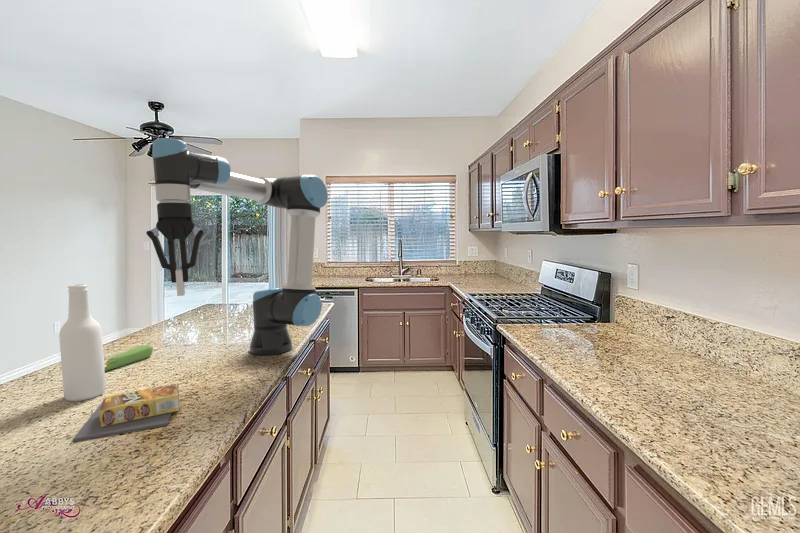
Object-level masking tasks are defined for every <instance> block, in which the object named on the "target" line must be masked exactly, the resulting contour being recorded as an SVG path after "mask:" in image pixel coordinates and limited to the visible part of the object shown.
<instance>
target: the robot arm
mask: <svg viewBox="0 0 800 533" xmlns="http://www.w3.org/2000/svg"><path fill="white" fill-rule="evenodd" d="M151 158H152V162H153V171H154V183H155V184H154V187H155V199H156V201H157V202H159V203H157V204H156V211H157V222H156V225H155V227H154V228H153V229H150V230H147V231H146V232H145V234H146V235H147V237H149V239H150V240H151V242H152V244H153V247H154V249H155V250H154V251H155V252H156V255H157V258H158V261H159V263H160V266H161V268H162V269H166V270H169V272H170V281H171V283H172V284H174V283H175V284H176V295H177V296H178V297H180V296H181V297H182V296H185V295H186V289H185V283H187V282H189V280H190V279H189V269H191V268H193V267H195V265H196V264H197V257H198V253H199V248H200V243H201V238H202V237H203V235H204V234H205V230H204V229H201V228H199V227H197V226H196V224H195V223H194V221H193V214H192V205H191V203H189V202H191V201H192V199H191V198H192V197H191V189H194V190H199V191H204V192H209V193H214V194H215V193H216V194H220V195H224V196H225V195H227V196H232V197H237V198H242V199H243V198H244V199H247V200H254V202H256V203H257V204H258V205H259V204H260V205H264V206H268V207H274V208H279V209H284V210H286V212H287V213H288V214H289V215H290V232H289V248H288V265H287V280H286V281H287V282H286V283H285V285H283V286H282V287H274V288H267V289H260V290H256V291H255V292H253V294H252V296H253V297H252V312H253V315H252V316H253V328H254V329H253V330H254V331H253V333H252V337H251V340H250V343H249V352H250V353H251V354H253V355H256V356H257V355H258V356H269V355H278V354H283V353H286V352H289V351H291V350H292V349H293V341H292V338H291V336H290V333H289V330H288V328H287V327H288V326H296V327H308V326H313V324H315V323H316V321H317V320H318V319H319V318H320V316H321V312H322V308H323V303H322V300H321V297H320V296H319V295H318V294H316V293H317V291H316V290H317V289H316V288H317V287H315V286H314V285H313V270H314V254H315V253H314V252H315V235H316V234H315V233H316V232H315V231H316V218H318V217H319V216H320V214H321V208H323V207H325V206H326V204H327V203H328V197H329V196H328V190H327V186H326V184H324V180H323V179H321V178H320V177H319V176H317V175H315V174H302V175H294V176H288V177H287V176H285V177H276V178H274V177H273V178H268V177H264V176H262V177H258V178H257V177H251V176H250V175H249V176H248V175H244V174H240V173H236V172H233V171H231V170H232V169H231V165H230V163H229V161H228V160H227V158H224V157H222V156H221V157H220V156H217V155H213V154H212V155H211V154H207V153H199V152H193V151H191V150H188V145H187V143H186V141H183V140H181V139H178V138H170V137H169V138H168V137H162V138H155V140H153V141H152V157H151ZM159 232H160V233H159ZM192 232H193V236H195V237H194V240H193V245H192V250H191V256H190V260H189V262H188V251H187V238H188V237H189V236H190V234H191V233H192ZM160 234H162V236H163V237H164V238H165V239H167V247H168V249H167V250H168V260H169V261H168V260H167V257H166V255H165V254H166V253H165V251H164V250H163V247H162V244H161V241H160V239H159V237H160V236H159V235H160ZM176 239H177V240H179V250H180V261H181V263H180V264H181V268H180V269H177V268H178V266H177V259H176V258H177V257H176V255H177V254H176ZM168 262H169V263H168ZM287 325H288V326H287Z"/></svg>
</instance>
